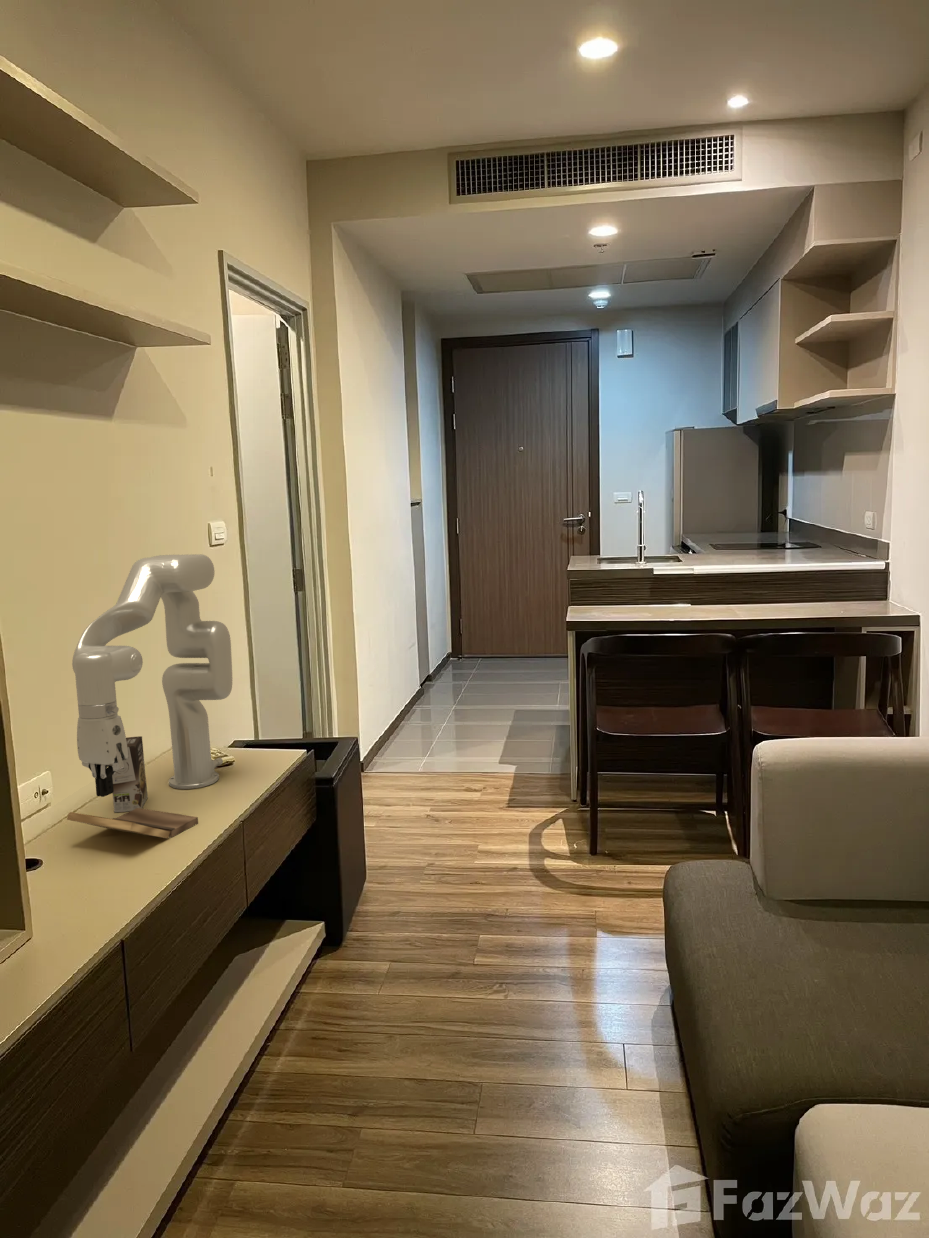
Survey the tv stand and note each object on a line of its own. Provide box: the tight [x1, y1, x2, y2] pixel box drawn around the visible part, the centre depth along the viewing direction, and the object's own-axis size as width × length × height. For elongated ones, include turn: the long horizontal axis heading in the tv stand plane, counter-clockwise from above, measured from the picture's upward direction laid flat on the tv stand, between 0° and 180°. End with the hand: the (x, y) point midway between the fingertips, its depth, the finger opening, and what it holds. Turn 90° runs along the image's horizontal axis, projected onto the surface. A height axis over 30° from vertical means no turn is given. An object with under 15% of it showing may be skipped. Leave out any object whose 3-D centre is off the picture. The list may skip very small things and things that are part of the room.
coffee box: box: [112, 736, 148, 813], centre depth 212 cm, size 9×6×16 cm
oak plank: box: [66, 811, 170, 839], centre depth 190 cm, size 12×18×2 cm, turn 67°
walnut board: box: [112, 807, 199, 838], centre depth 200 cm, size 8×18×2 cm, turn 66°
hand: (105, 794), depth 186 cm, fingers closed
